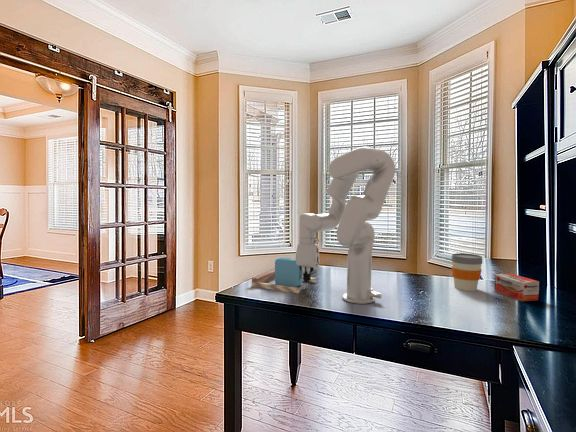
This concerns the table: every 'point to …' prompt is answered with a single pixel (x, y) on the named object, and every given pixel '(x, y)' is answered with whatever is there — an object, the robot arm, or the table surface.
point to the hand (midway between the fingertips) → (306, 281)
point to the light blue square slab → (287, 272)
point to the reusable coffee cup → (466, 271)
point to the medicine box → (517, 287)
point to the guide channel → (268, 276)
